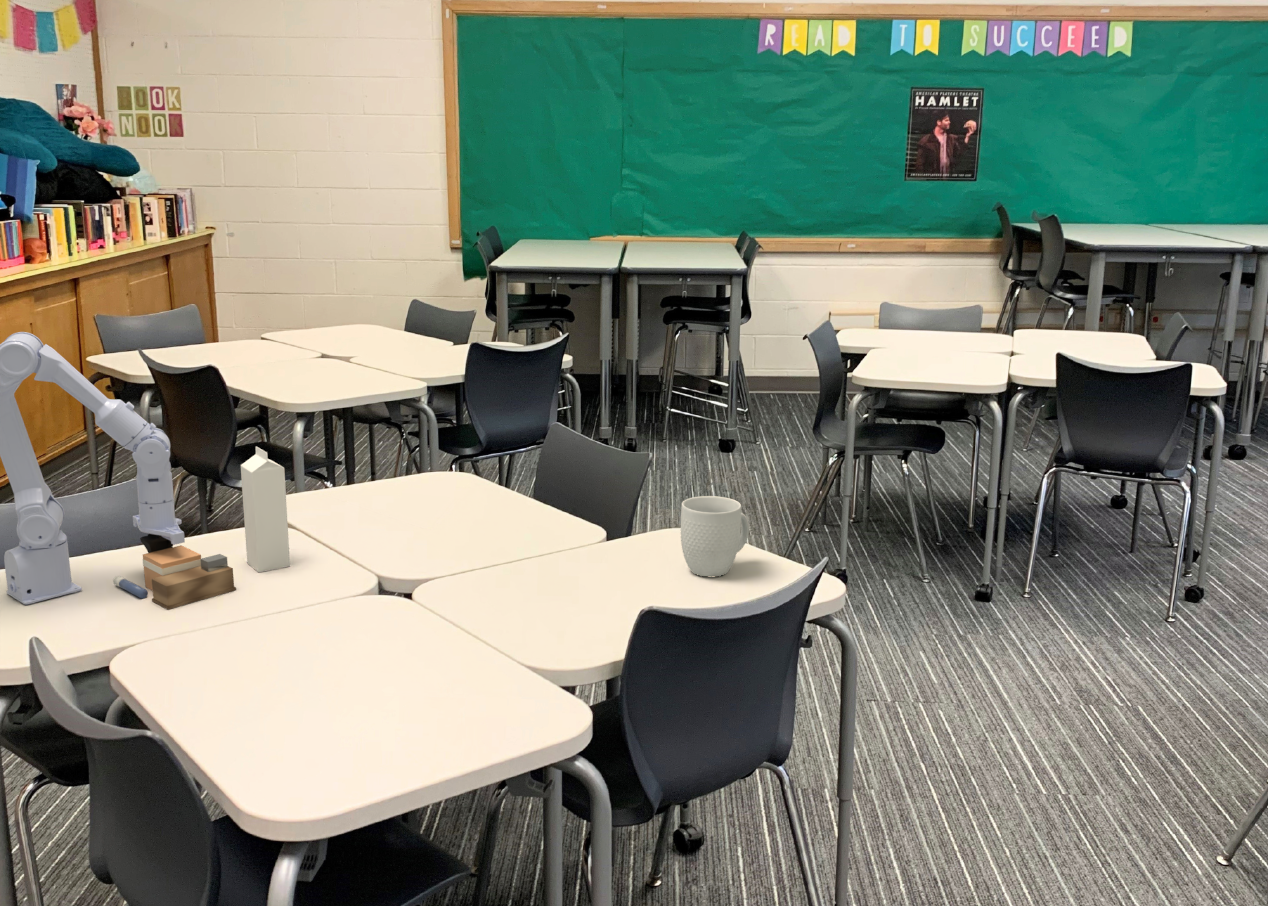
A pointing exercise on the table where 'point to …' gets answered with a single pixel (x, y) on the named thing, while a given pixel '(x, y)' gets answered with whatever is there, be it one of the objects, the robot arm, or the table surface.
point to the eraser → (214, 562)
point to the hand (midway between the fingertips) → (161, 573)
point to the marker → (130, 587)
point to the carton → (168, 562)
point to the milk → (265, 513)
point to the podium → (191, 586)
